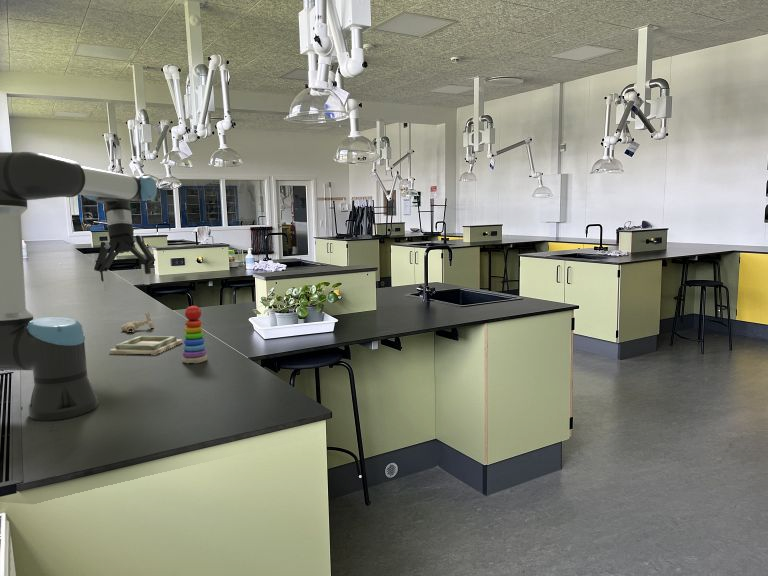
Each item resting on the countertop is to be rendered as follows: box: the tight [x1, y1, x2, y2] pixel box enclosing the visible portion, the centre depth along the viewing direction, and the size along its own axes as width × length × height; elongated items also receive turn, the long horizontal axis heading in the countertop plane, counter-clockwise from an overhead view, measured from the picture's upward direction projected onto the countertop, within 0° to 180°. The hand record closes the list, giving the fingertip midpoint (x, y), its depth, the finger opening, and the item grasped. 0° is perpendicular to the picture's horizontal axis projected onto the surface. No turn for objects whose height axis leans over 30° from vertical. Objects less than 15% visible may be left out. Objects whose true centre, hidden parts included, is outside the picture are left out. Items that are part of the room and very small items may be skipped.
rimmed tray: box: [108, 335, 183, 356], centre depth 205 cm, size 18×18×3 cm
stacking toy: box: [181, 305, 208, 364], centre depth 185 cm, size 8×8×19 cm
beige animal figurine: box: [120, 312, 155, 333], centre depth 238 cm, size 8×12×10 cm
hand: (127, 287), depth 184 cm, fingers open, 13 cm apart
